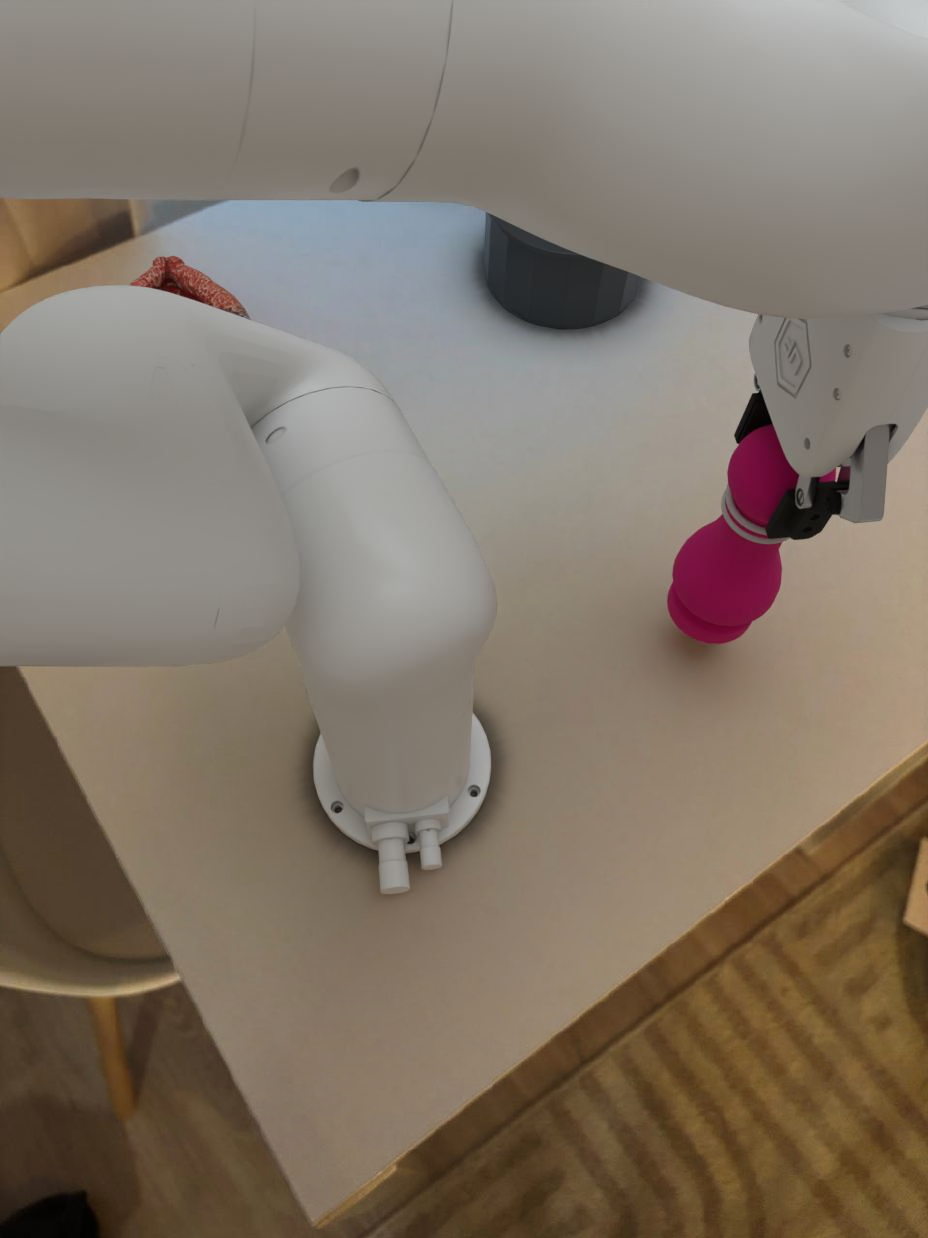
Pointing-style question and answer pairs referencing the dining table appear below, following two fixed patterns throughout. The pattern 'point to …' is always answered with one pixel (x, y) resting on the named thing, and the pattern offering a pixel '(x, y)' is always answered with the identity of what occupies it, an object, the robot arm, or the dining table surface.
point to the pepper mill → (735, 547)
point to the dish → (188, 284)
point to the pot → (554, 284)
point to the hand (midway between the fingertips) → (775, 483)
